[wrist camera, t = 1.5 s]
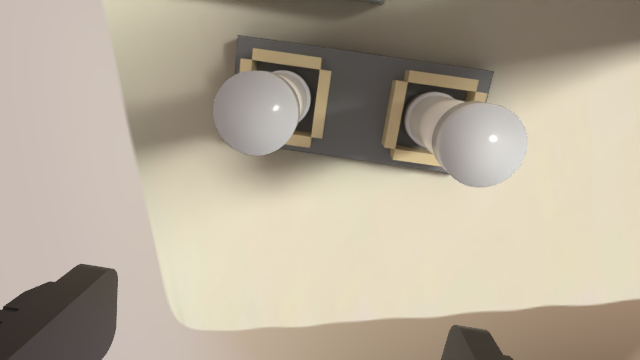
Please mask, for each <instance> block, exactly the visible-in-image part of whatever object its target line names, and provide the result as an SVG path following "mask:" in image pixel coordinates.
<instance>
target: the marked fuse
mask: <svg viewBox="0 0 640 360" xmlns="http://www.w3.org/2000/svg"><path fill="white" fill-rule="evenodd" d="M311 102H312V94H311V90H310V87H309V85H308V83H307V82H306V80H305V79H304V78H303V77H302V76H300V75H299V74H297V73H295V72H293V71H287V70H280V71H274V72H268V71H245V72H241V73H238V74H236V75H234V76H232V77H231V78H229V79H228V80H227V81H225V82H224V83H223V85H222V86H221V87H220V89H219V90H218V92H217V94H216V96H215V100H214V104H213V119H214V123H215V126H216V129H217V131H218V133H219V135H220V136H221V137H222V139H223V140H224V141H225V142H226V143H227V144H228V145H229V146H230V147H232V148H233V149H235V150H237V151H239V152H241V153H244V154H247V155H254V156H259V155H266V154H269V153H272V152H274V151H276V150H278V149H279V148H281V147H282V146H283V145H284V144H285V143H286V142H287V141H288V140H289V138H290V137H291V135H292V134H293V132H294V131H295V129H296V127H297V125H298V122H300V121H301V120H302V119H303V118H304V117H305V115H306V114H307V112H308V111H309V109H310V106H311Z"/></svg>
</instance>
